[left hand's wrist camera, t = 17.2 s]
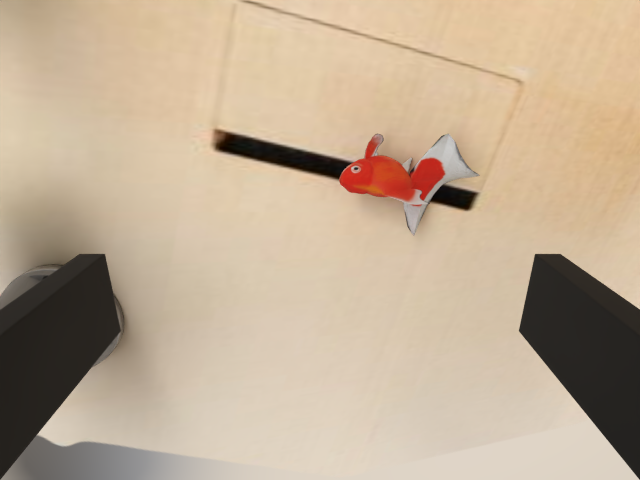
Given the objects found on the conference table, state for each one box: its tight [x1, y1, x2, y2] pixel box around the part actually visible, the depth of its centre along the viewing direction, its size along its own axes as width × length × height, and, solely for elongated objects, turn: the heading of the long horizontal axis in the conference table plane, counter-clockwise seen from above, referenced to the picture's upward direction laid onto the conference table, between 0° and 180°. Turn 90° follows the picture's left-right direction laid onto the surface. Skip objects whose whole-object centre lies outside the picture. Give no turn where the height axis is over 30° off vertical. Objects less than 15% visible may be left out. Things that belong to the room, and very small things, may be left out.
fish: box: [339, 134, 480, 236], centre depth 44 cm, size 11×16×10 cm
